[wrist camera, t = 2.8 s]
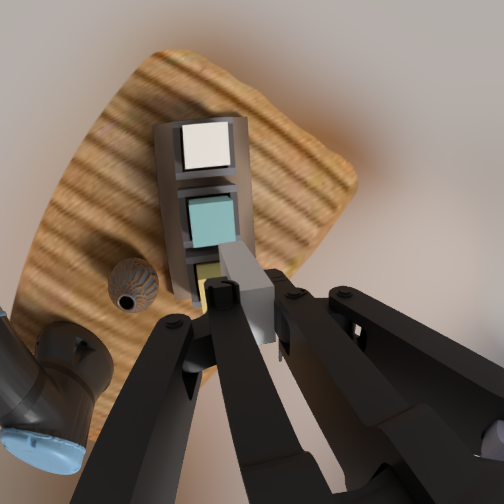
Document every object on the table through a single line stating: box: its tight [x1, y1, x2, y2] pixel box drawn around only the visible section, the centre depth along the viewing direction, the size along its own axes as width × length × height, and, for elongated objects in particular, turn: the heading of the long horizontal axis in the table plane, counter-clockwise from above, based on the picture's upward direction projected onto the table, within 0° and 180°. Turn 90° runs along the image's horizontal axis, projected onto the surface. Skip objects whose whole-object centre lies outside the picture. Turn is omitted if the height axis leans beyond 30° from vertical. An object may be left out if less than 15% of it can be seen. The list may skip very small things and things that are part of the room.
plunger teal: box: [189, 195, 236, 248], centre depth 30 cm, size 4×4×5 cm
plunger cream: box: [183, 122, 230, 169], centre depth 28 cm, size 4×4×5 cm
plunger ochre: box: [196, 261, 221, 314], centre depth 33 cm, size 4×4×5 cm
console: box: [153, 117, 256, 308], centre depth 34 cm, size 12×24×6 cm, turn 2°
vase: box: [108, 258, 159, 313], centre depth 33 cm, size 7×7×9 cm
